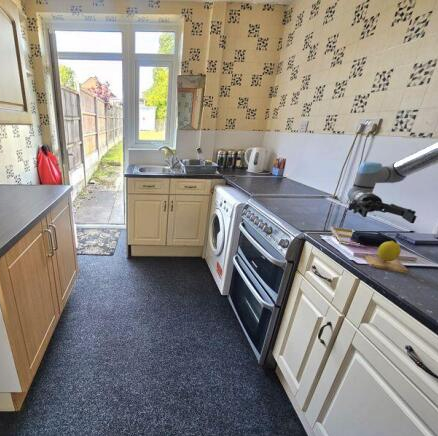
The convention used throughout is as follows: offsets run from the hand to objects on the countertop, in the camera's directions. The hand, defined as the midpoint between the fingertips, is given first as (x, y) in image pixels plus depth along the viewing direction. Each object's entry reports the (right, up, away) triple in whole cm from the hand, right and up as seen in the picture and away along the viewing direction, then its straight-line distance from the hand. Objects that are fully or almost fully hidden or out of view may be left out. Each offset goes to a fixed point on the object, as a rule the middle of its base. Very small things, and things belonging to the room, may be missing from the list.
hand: (389, 216), depth 89 cm
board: (-4, -17, -2) cm, 17 cm away
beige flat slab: (-1, -9, +18) cm, 20 cm away
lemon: (-4, -16, -2) cm, 17 cm away
